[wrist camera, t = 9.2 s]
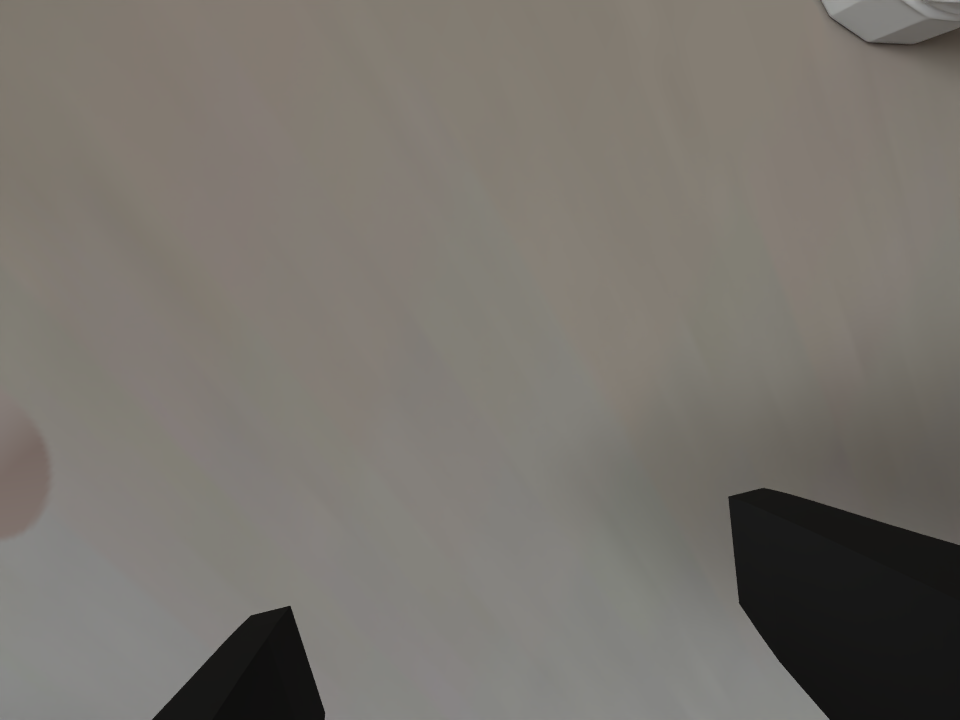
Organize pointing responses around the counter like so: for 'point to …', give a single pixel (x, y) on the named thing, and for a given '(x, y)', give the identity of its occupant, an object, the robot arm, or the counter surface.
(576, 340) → the counter surface
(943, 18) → the white cup
